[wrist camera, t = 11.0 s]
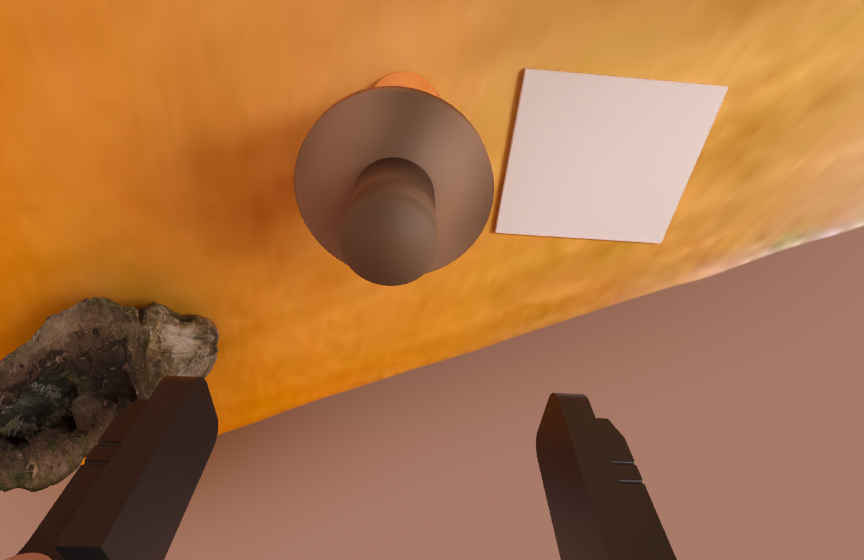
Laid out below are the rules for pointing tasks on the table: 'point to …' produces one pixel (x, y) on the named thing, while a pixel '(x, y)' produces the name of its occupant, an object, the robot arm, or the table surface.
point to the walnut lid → (394, 183)
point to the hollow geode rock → (88, 382)
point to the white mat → (602, 154)
